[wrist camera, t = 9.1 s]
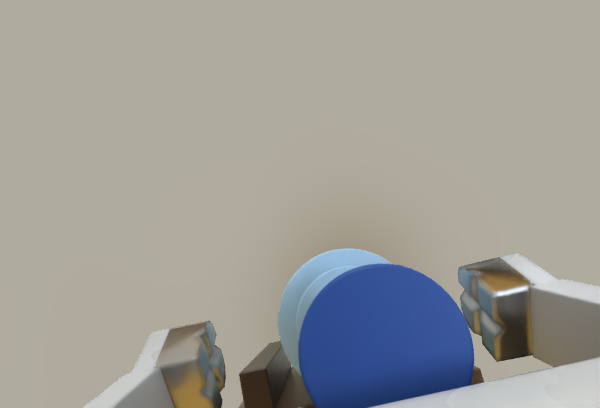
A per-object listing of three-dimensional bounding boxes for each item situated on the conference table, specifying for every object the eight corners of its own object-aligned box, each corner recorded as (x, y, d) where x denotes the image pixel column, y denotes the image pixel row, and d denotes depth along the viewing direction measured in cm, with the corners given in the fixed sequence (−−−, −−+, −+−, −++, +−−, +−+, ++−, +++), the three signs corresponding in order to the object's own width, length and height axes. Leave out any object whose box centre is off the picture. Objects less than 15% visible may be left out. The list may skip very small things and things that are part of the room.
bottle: (575, 530, 6) (521, 191, 7) (230, 536, 6) (229, 205, 7) (386, 355, 22) (378, 263, 23) (294, 358, 23) (291, 267, 24)
